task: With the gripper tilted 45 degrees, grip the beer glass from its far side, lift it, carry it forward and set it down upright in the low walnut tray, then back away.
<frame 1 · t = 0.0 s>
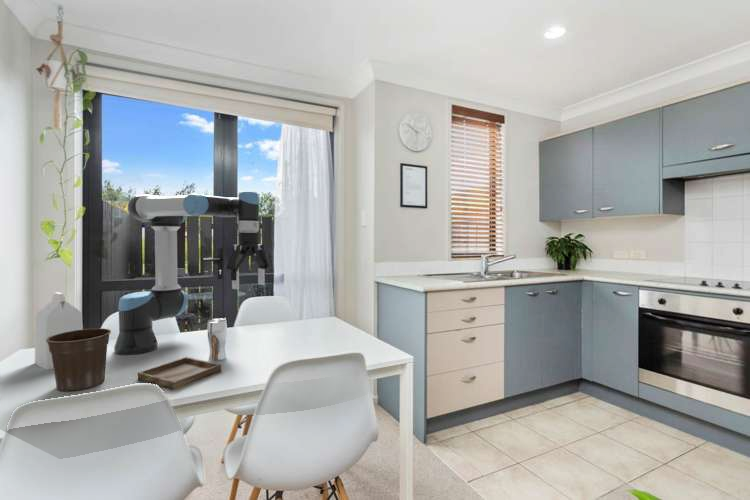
hand: (249, 286, 144), 28 cm above the table, tool pointing down, fingers open, 13 cm apart
beer glass: (217, 359, 144), on the table
milk: (60, 362, 139), on the table
walnut tray: (180, 375, 127), on the table
plant pot: (80, 384, 119), on the table
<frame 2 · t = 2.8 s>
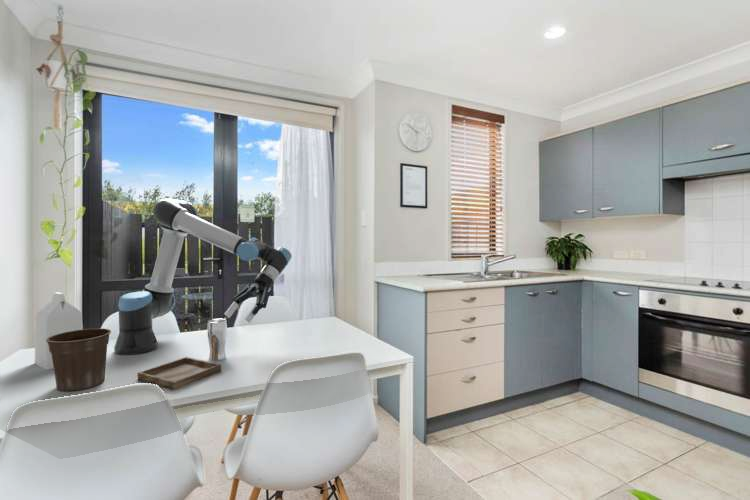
hand: (236, 318, 150), 14 cm above the table, tool tilted 45°, fingers open, 13 cm apart
nothing on the table moved.
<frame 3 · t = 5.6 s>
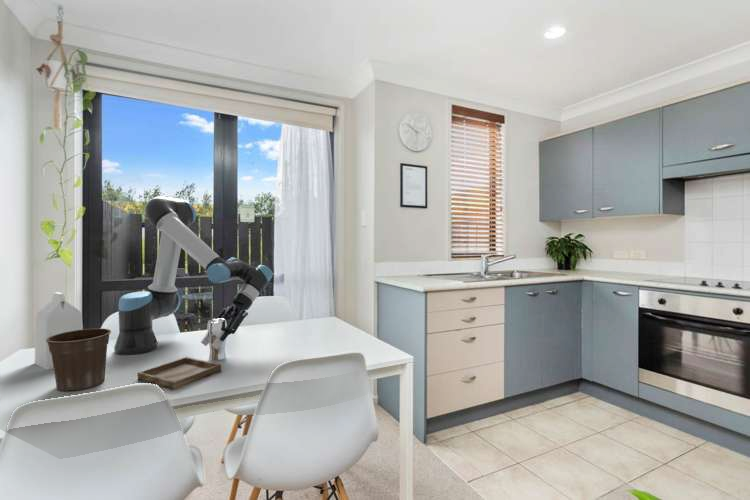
hand: (208, 345, 141), 6 cm above the table, tool tilted 45°, fingers closed on beer glass, 7 cm apart
beer glass: (217, 359, 144), on the table, touching gripper
everything else where it was.
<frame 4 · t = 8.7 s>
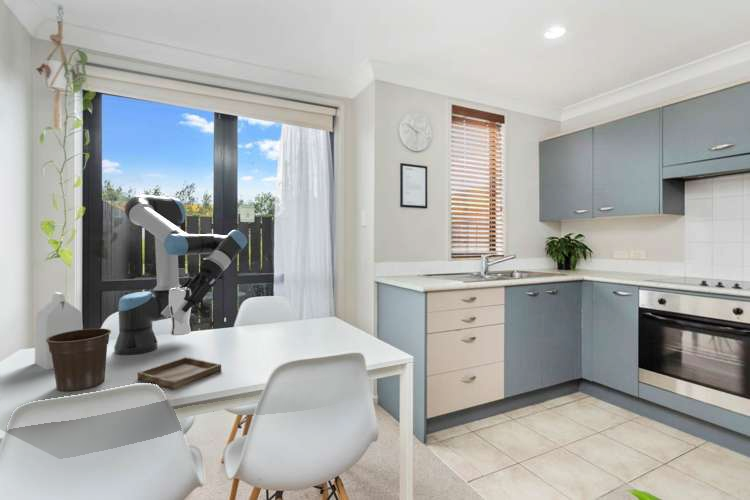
hand: (169, 317, 123), 21 cm above the table, tool tilted 45°, fingers closed on beer glass, 7 cm apart
beer glass: (180, 333, 126), point 15 cm above the table, touching gripper
everything else where it was.
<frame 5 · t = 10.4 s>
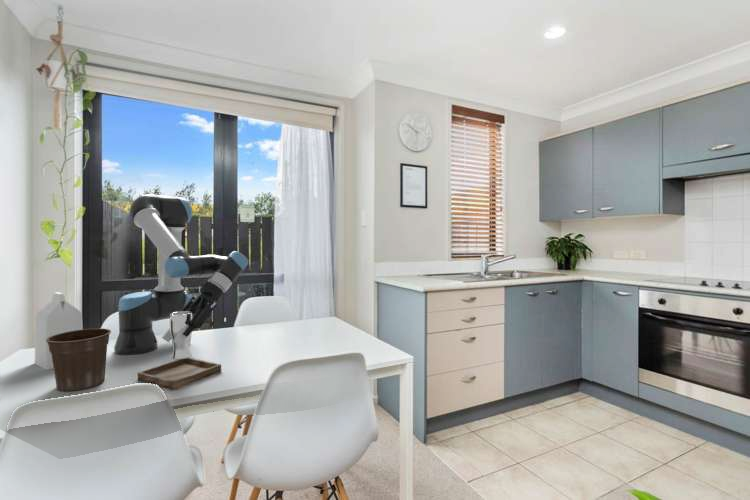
hand: (170, 341, 123), 13 cm above the table, tool tilted 45°, fingers closed on beer glass, 7 cm apart
beer glass: (181, 357, 126), point 6 cm above the table, touching gripper
everything else where it was.
when the fingers open (8 cm above the table, at t = 11.9 s): beer glass drops 1 cm, resting on walnut tray.
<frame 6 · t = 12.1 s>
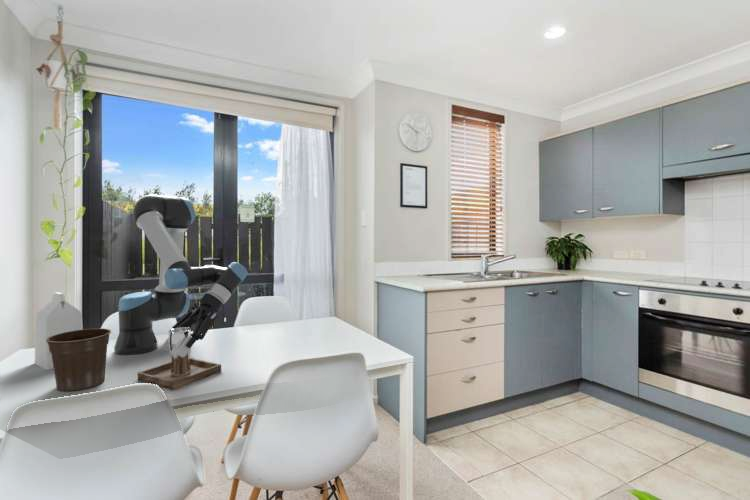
hand: (171, 352, 124), 9 cm above the table, tool tilted 45°, fingers open, 9 cm apart
beer glass: (180, 373, 127), point 1 cm above the table, touching walnut tray
everything else where it was.
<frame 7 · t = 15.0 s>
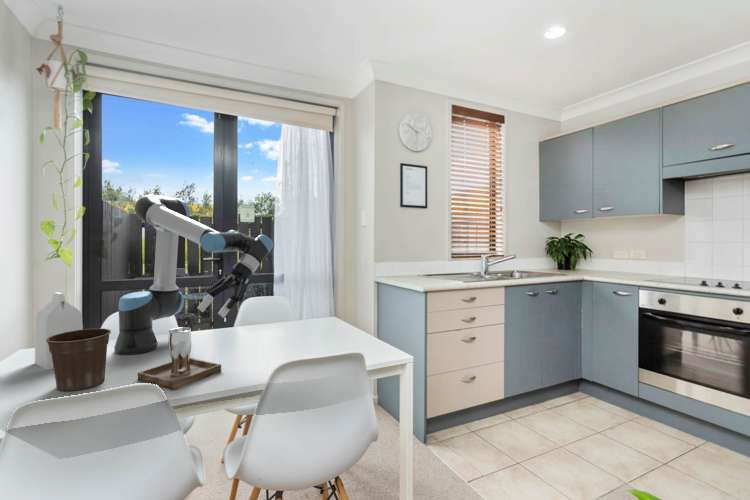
hand: (210, 312, 135), 20 cm above the table, tool tilted 45°, fingers open, 13 cm apart
nothing on the table moved.
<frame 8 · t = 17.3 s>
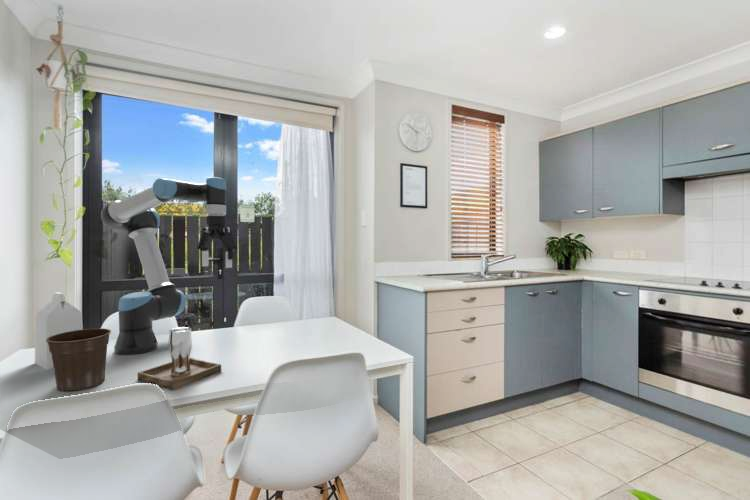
hand: (216, 267, 154), 35 cm above the table, tool pointing down, fingers open, 13 cm apart
nothing on the table moved.
at the end: beer glass inside the target area on the walnut tray (0.3 cm from its centre), point 0.6 cm above the walnut tray's base; beer glass tilted 0°; the gripper is holding nothing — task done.
